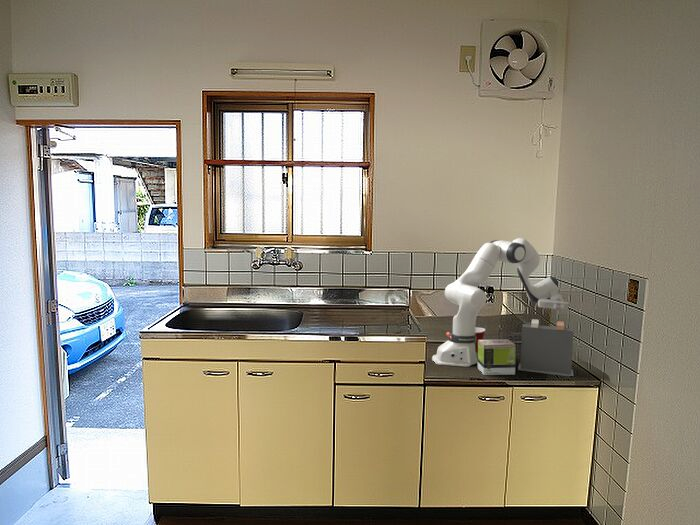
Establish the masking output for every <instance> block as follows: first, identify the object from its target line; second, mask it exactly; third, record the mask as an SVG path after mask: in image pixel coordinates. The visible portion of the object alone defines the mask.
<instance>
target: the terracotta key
mask: <svg viewBox="0 0 700 525" xmlns="http://www.w3.org/2000/svg"><path fill="white" fill-rule="evenodd" d="M556 327H557V330H564V328H565V323H564V321H559V320H558V321H556Z"/></svg>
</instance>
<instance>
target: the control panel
mask: <svg viewBox="0 0 700 525" xmlns="http://www.w3.org/2000/svg"><path fill="white" fill-rule="evenodd" d="M573 343H574V329H573V328H571V327H564V330H557V326H548V325H538V328H534V327H531V324H529V323H528V324H527V323H526V324H525V323H523V324H522V326H521V345H520V346H521V348H520V362H519V363H518V368H517V371H523V372H530V373H531V372H532V373H539V374H546V375H547V374H548V375H553V376H556V375H557V376H564V377H570V376H573V377H574V370H573V369H572V364H573Z"/></svg>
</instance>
